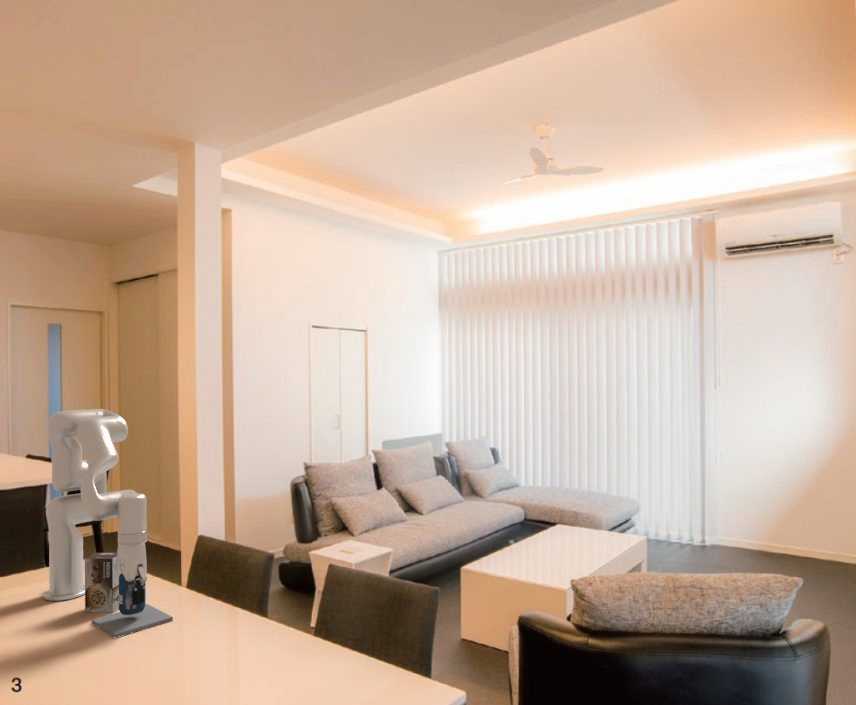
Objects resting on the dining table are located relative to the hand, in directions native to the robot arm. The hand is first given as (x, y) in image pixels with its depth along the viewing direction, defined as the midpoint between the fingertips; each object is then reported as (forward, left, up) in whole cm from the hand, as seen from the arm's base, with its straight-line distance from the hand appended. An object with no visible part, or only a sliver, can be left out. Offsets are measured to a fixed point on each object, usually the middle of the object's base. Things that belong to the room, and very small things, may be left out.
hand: (132, 600), depth 183 cm
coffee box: (-17, -1, -6) cm, 18 cm away
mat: (0, 0, -6) cm, 6 cm away
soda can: (0, 0, -3) cm, 3 cm away
